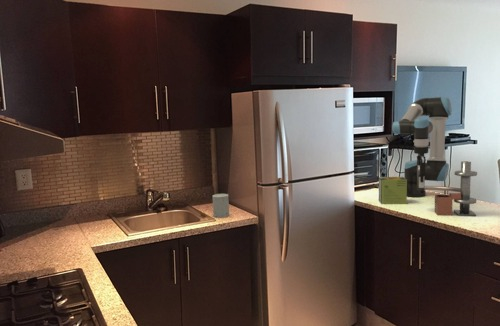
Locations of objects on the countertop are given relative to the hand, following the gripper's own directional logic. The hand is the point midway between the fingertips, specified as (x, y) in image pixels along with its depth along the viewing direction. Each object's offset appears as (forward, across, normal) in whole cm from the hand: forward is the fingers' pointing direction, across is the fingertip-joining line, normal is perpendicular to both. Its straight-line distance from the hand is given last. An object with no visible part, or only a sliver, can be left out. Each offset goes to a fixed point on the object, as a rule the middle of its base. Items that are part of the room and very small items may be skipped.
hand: (420, 186), depth 244 cm
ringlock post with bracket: (+14, +7, +17) cm, 23 cm away
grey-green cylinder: (+13, +19, -114) cm, 117 cm away
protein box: (+15, -20, -13) cm, 28 cm away
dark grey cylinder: (+2, 0, 0) cm, 2 cm away
